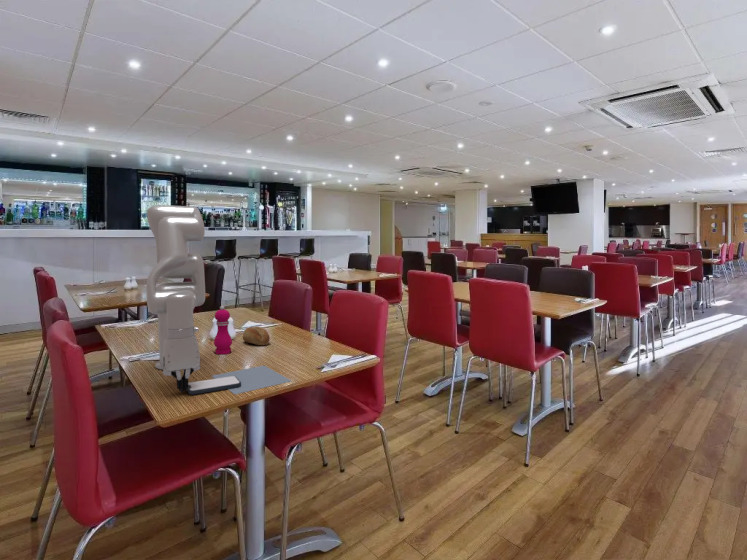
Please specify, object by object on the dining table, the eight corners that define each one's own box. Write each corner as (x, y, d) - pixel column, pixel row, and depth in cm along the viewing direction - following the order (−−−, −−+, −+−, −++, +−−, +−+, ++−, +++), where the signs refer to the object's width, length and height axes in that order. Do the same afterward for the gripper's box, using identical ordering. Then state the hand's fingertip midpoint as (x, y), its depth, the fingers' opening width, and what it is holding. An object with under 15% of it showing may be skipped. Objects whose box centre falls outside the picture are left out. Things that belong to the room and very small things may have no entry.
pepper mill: (234, 353, 178) (233, 306, 176) (217, 355, 174) (215, 307, 172) (229, 349, 184) (227, 304, 182) (212, 352, 179) (210, 305, 177)
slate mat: (211, 376, 149) (211, 375, 149) (264, 365, 162) (264, 365, 162) (234, 394, 132) (234, 394, 132) (291, 381, 145) (291, 381, 145)
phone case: (235, 379, 146) (185, 387, 138) (235, 375, 146) (185, 382, 137) (242, 387, 138) (189, 396, 130) (242, 383, 138) (189, 391, 130)
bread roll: (257, 348, 186) (257, 331, 185) (237, 343, 195) (236, 326, 194) (274, 344, 193) (274, 327, 193) (254, 339, 202) (253, 323, 201)
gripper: (201, 328, 138) (203, 382, 140) (151, 334, 129) (153, 392, 131) (209, 331, 132) (211, 388, 134) (156, 338, 123) (159, 399, 125)
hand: (182, 390), depth 132 cm, fingers closed
